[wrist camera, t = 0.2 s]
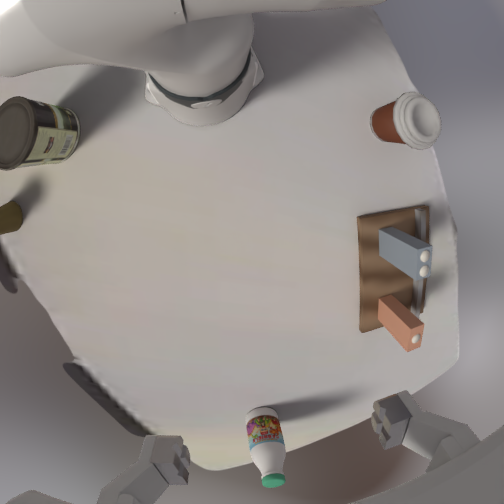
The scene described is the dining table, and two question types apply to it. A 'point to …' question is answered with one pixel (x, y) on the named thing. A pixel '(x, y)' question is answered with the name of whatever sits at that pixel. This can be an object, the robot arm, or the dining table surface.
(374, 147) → the dining table surface
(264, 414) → the milk bottle
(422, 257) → the tile two
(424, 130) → the coffee cup
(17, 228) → the pepper mill
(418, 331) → the tile one
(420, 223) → the board
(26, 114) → the coffee can
